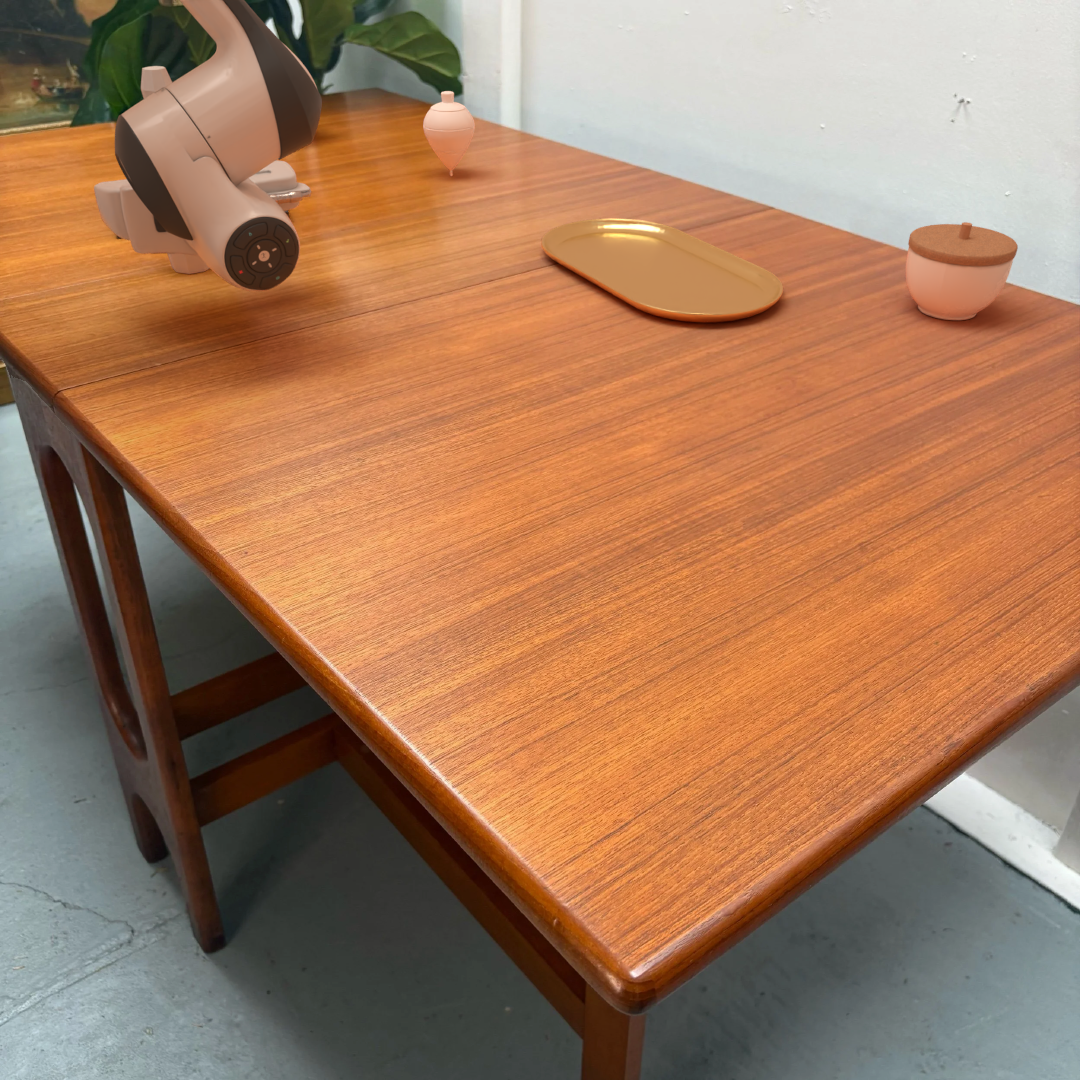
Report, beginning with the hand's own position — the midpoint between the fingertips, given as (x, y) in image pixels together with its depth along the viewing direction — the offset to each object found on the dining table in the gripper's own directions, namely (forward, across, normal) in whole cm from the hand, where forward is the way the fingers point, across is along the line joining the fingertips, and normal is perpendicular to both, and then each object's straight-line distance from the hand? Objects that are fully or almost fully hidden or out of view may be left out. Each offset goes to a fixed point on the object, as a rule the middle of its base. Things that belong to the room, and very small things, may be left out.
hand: (183, 176), depth 111 cm
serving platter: (-24, -47, +12) cm, 54 cm away
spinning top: (+27, -44, +12) cm, 53 cm away
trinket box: (-49, -68, +12) cm, 85 cm away
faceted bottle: (+6, 0, +12) cm, 13 cm away
